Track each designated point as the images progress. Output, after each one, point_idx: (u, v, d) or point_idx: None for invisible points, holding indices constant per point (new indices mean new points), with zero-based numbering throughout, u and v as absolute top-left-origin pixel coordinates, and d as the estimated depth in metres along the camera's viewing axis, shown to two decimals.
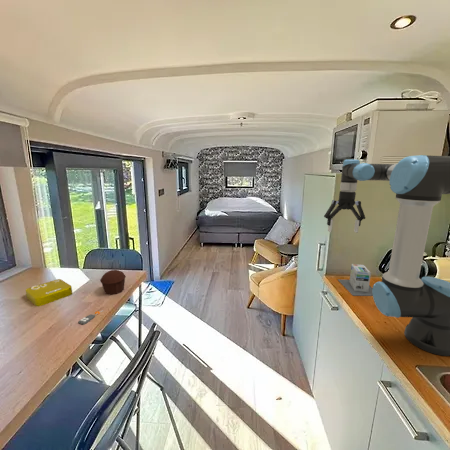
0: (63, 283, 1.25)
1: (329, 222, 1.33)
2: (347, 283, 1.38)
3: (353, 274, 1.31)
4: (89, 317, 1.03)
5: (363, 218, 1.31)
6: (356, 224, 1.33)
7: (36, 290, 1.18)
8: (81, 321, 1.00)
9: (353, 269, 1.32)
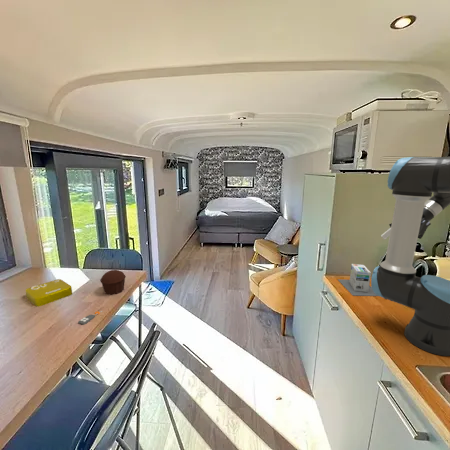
0: (63, 283, 1.25)
1: None
2: (347, 283, 1.38)
3: (353, 274, 1.31)
4: (89, 317, 1.03)
5: None
6: None
7: (36, 290, 1.17)
8: (81, 321, 1.00)
9: (353, 269, 1.32)
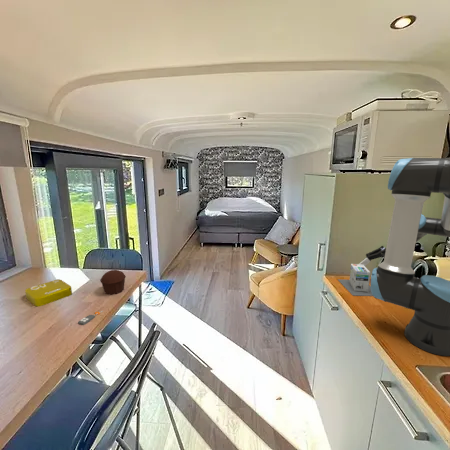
0: (63, 283, 1.25)
1: None
2: (347, 283, 1.38)
3: (353, 274, 1.31)
4: (89, 317, 1.03)
5: None
6: None
7: (36, 290, 1.17)
8: (81, 321, 1.00)
9: (352, 269, 1.33)
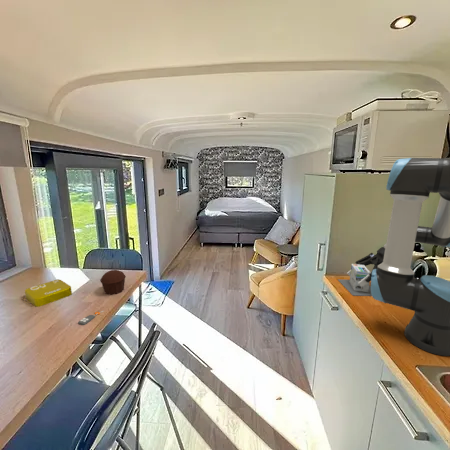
0: (62, 283, 1.24)
1: None
2: (347, 283, 1.38)
3: (353, 274, 1.31)
4: (89, 317, 1.03)
5: None
6: None
7: (35, 290, 1.17)
8: (81, 321, 1.00)
9: (353, 269, 1.33)
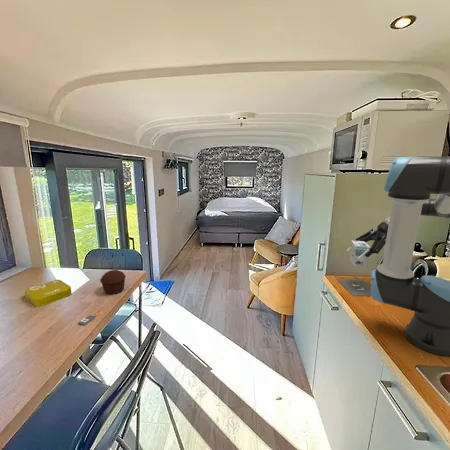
0: (62, 284, 1.24)
1: None
2: (347, 283, 1.38)
3: (353, 250, 1.29)
4: (89, 318, 1.02)
5: (373, 249, 1.21)
6: None
7: (35, 291, 1.17)
8: (81, 322, 1.00)
9: (353, 245, 1.30)
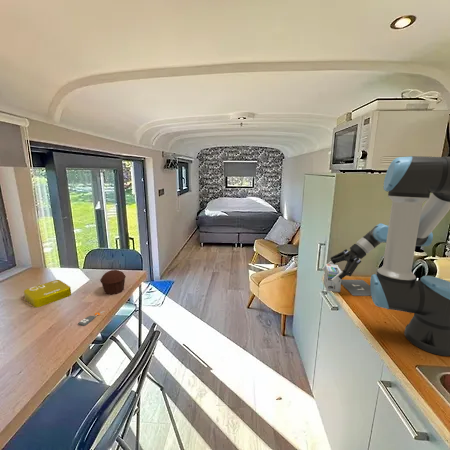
0: (62, 284, 1.24)
1: (329, 263, 1.39)
2: (347, 283, 1.38)
3: (326, 274, 1.31)
4: (89, 318, 1.02)
5: (346, 272, 1.22)
6: None
7: (34, 291, 1.17)
8: (81, 322, 0.99)
9: (326, 269, 1.33)
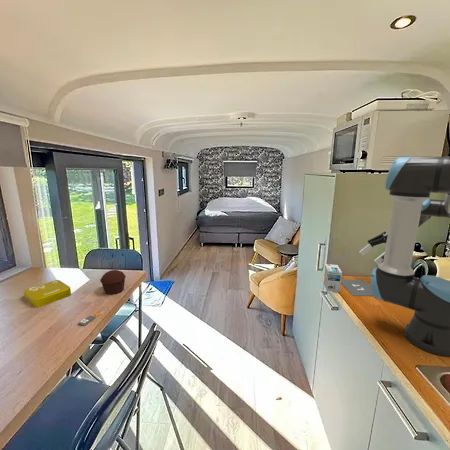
0: (61, 284, 1.24)
1: (366, 246, 1.36)
2: (347, 283, 1.38)
3: (326, 274, 1.31)
4: (89, 318, 1.02)
5: None
6: None
7: (34, 291, 1.17)
8: (81, 323, 0.99)
9: (326, 269, 1.33)
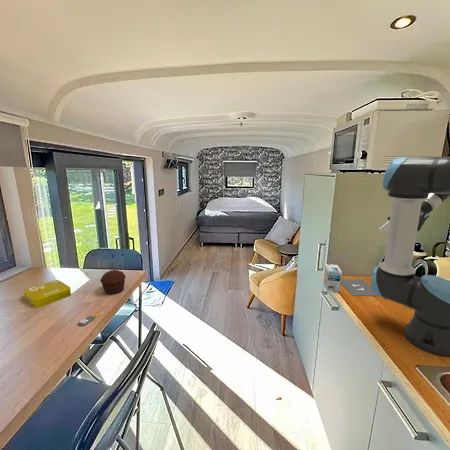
0: (61, 284, 1.24)
1: None
2: (347, 283, 1.38)
3: (326, 274, 1.31)
4: (89, 319, 1.02)
5: None
6: None
7: (34, 291, 1.16)
8: (81, 323, 0.99)
9: (326, 269, 1.33)
